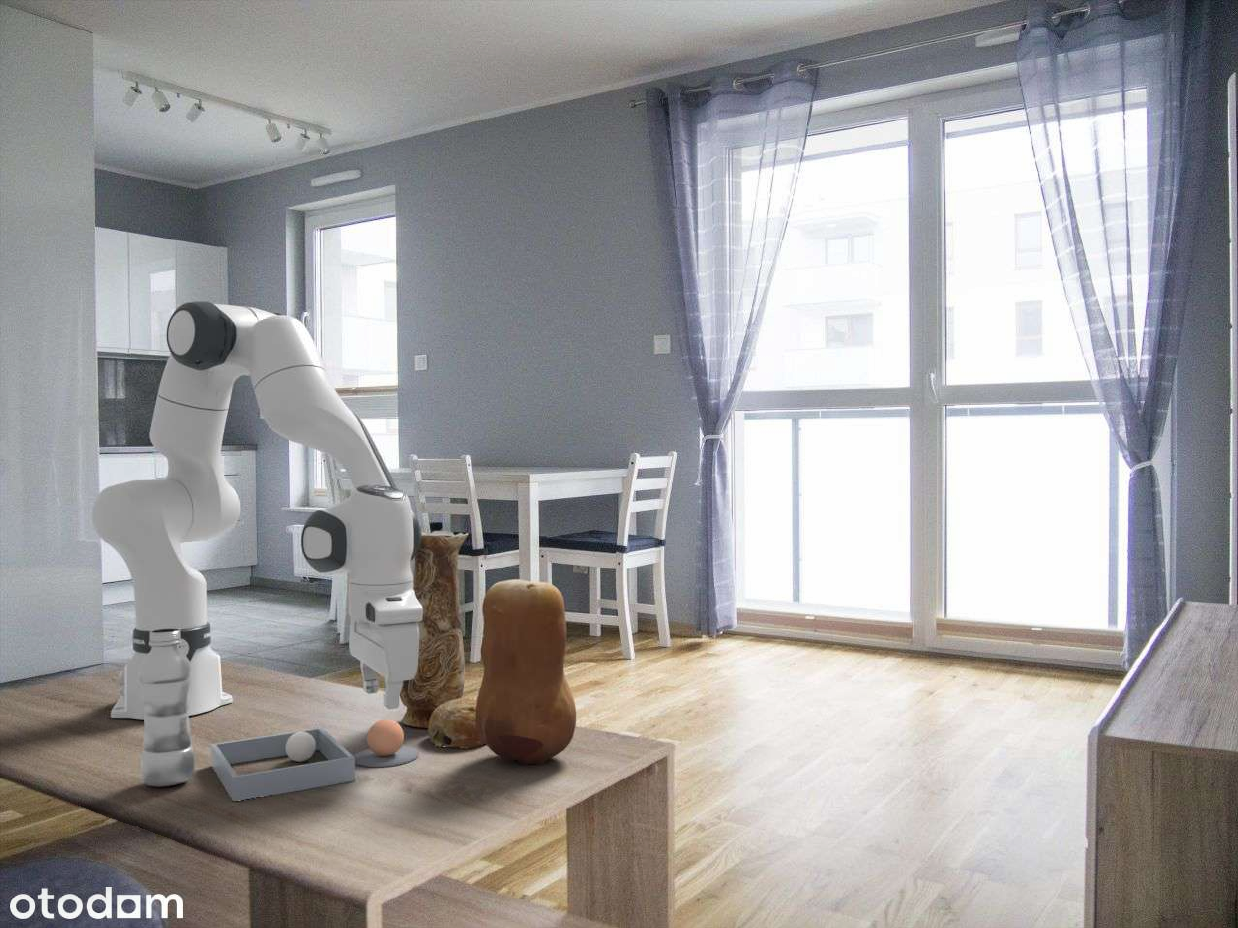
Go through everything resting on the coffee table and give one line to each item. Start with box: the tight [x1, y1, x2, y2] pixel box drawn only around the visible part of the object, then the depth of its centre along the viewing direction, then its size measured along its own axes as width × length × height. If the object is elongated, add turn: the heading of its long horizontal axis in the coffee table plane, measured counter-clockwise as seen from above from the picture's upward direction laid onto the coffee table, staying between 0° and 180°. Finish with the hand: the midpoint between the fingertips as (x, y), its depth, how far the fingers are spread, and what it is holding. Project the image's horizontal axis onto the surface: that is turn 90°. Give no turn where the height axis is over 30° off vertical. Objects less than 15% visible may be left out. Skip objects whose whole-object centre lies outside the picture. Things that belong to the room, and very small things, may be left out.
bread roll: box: [427, 697, 485, 749], centre depth 147 cm, size 10×10×8 cm
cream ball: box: [286, 732, 316, 763], centre depth 138 cm, size 4×4×4 cm
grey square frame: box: [210, 727, 356, 802], centre depth 132 cm, size 17×15×3 cm
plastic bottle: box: [138, 628, 196, 787], centre depth 129 cm, size 6×7×20 cm
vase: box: [399, 530, 469, 728], centre depth 157 cm, size 10×11×30 cm
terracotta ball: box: [366, 718, 405, 756], centre depth 139 cm, size 5×5×5 cm
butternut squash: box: [475, 578, 577, 766], centre depth 137 cm, size 14×13×25 cm
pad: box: [353, 745, 420, 768], centre depth 139 cm, size 9×9×1 cm
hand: (380, 699), depth 139 cm, fingers open, 8 cm apart
